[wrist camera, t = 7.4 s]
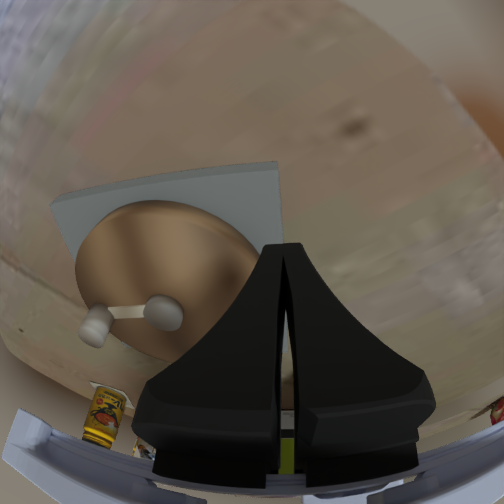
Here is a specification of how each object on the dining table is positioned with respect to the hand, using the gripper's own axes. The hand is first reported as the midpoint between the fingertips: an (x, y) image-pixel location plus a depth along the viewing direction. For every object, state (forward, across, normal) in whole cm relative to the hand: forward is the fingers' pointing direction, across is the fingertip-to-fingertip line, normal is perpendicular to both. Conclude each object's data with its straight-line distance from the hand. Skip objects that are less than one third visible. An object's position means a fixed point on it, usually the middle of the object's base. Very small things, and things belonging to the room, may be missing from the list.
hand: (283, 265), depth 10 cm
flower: (+10, -63, +63) cm, 90 cm away
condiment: (+10, +32, +37) cm, 50 cm away
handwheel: (+8, +9, +8) cm, 14 cm away
